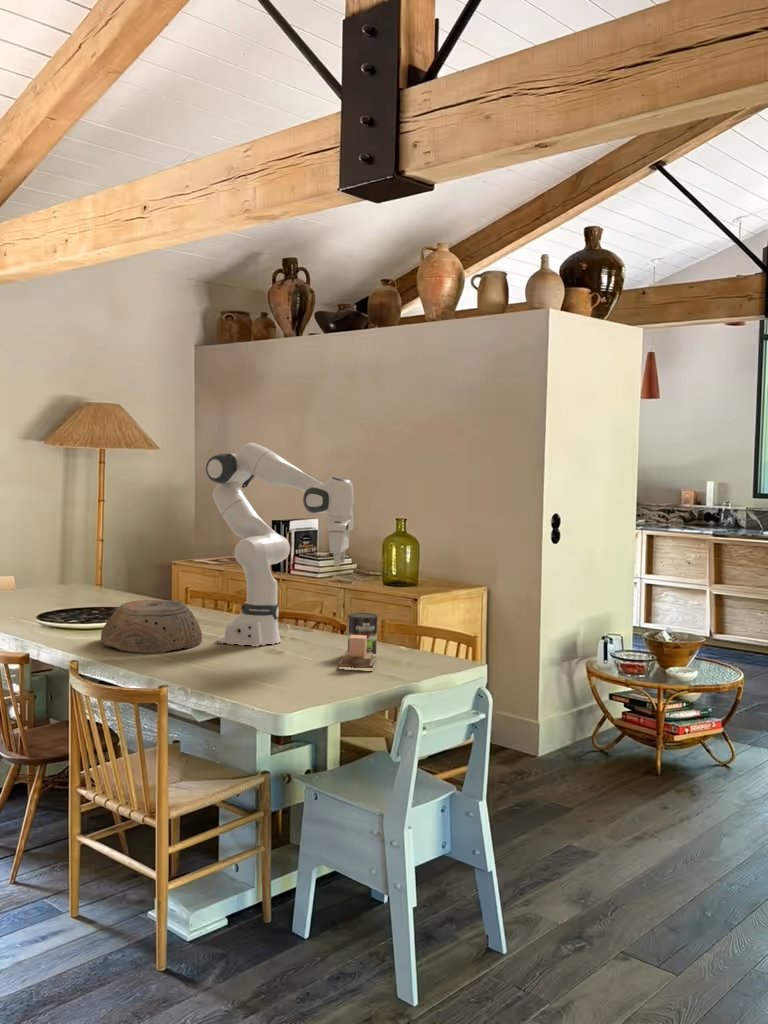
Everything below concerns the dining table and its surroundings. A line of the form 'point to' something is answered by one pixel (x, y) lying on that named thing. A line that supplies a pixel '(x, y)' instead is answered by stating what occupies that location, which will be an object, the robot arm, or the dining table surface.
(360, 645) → the block
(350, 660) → the plinth
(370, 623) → the coffee can
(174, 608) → the ceramic artifact
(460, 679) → the dining table surface
